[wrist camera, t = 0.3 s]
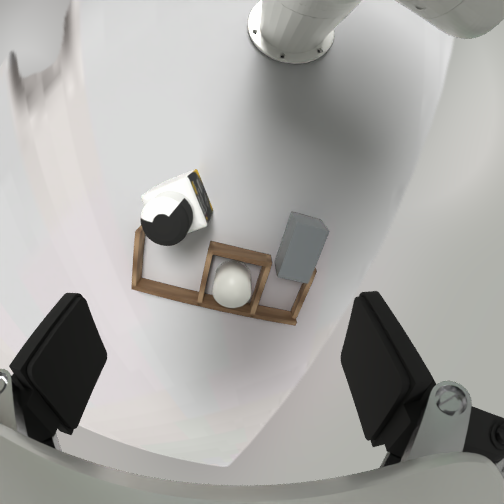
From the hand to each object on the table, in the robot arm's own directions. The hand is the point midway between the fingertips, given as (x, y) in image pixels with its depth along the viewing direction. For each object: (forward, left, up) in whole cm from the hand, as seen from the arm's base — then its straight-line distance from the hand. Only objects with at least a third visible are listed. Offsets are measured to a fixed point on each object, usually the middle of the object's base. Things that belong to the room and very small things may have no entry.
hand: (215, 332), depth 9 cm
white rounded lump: (+18, +3, -34) cm, 39 cm away
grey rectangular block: (+9, +12, -34) cm, 37 cm away
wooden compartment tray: (+18, +1, -34) cm, 39 cm away
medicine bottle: (+6, -7, -34) cm, 36 cm away
